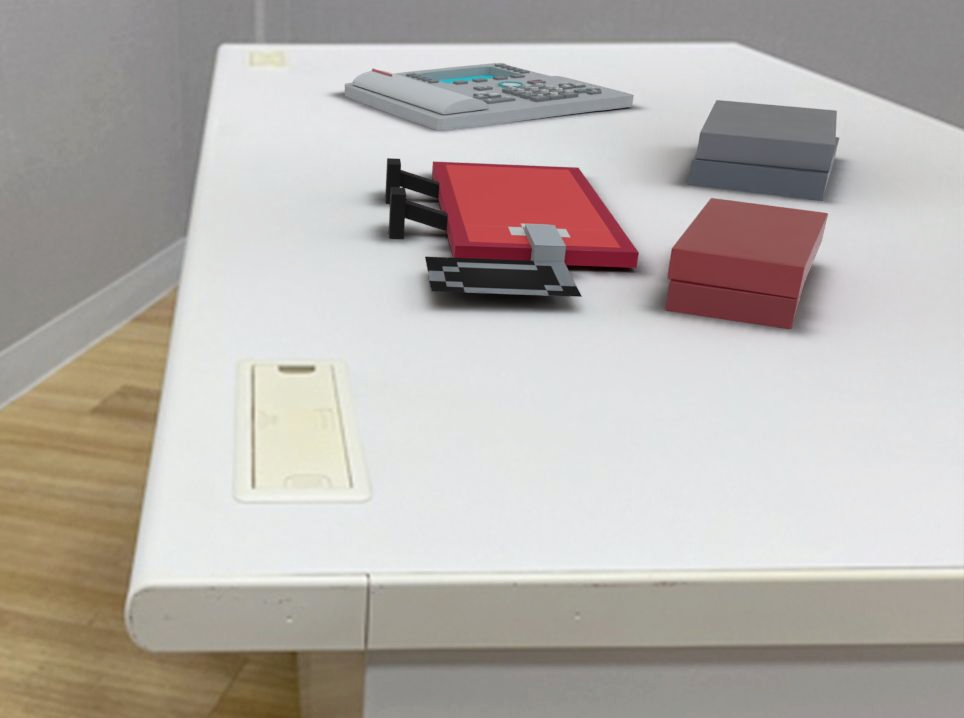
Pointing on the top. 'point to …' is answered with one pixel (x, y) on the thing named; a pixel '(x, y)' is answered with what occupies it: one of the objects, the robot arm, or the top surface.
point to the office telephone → (479, 95)
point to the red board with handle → (509, 226)
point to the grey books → (766, 149)
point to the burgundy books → (744, 262)
